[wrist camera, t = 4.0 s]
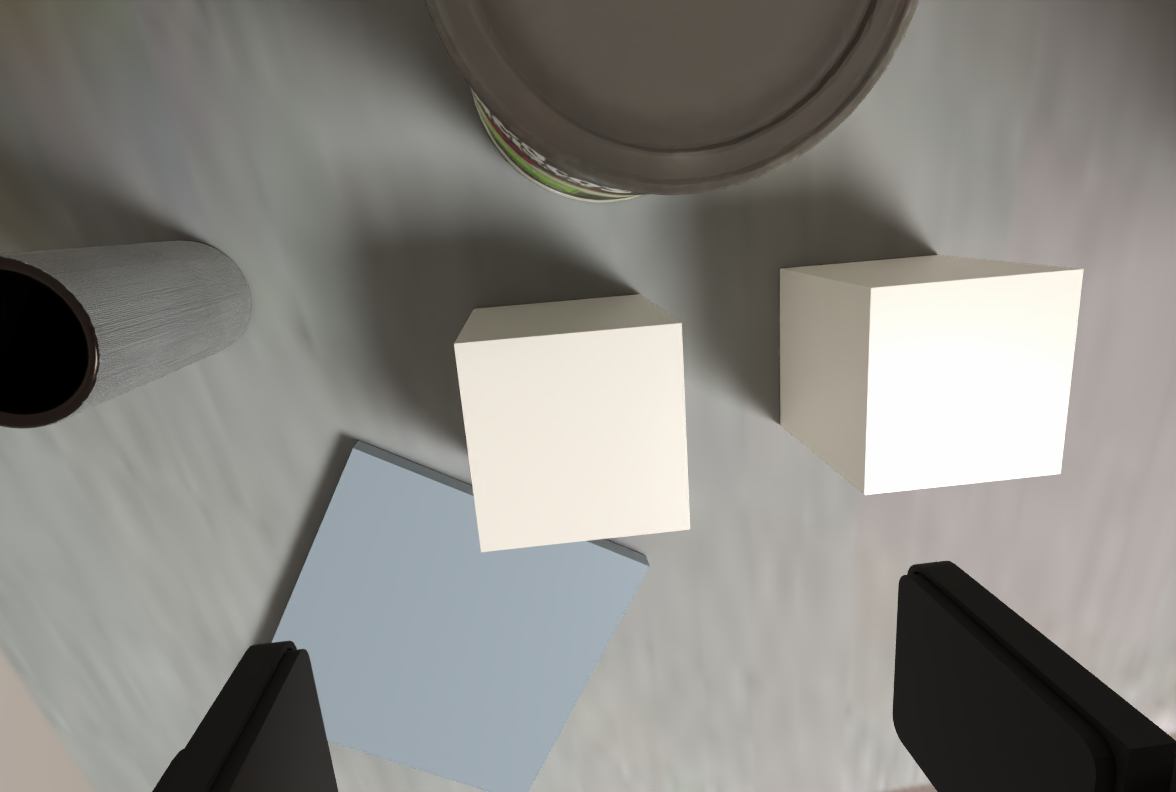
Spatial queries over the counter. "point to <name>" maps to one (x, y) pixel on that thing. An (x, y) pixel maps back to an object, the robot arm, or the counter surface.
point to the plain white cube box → (929, 368)
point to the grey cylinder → (109, 322)
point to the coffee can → (664, 85)
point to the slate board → (448, 626)
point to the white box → (574, 421)
